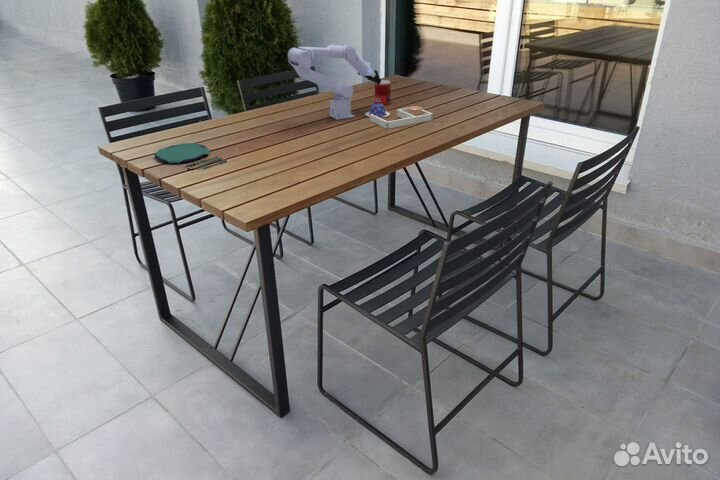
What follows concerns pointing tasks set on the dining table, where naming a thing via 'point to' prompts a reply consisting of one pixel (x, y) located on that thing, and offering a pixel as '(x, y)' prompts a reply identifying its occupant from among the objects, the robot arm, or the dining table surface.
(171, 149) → the cutlery set
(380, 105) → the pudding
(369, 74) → the robot arm
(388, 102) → the canned food
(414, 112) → the ramekin
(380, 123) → the serving frame
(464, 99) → the dining table surface
